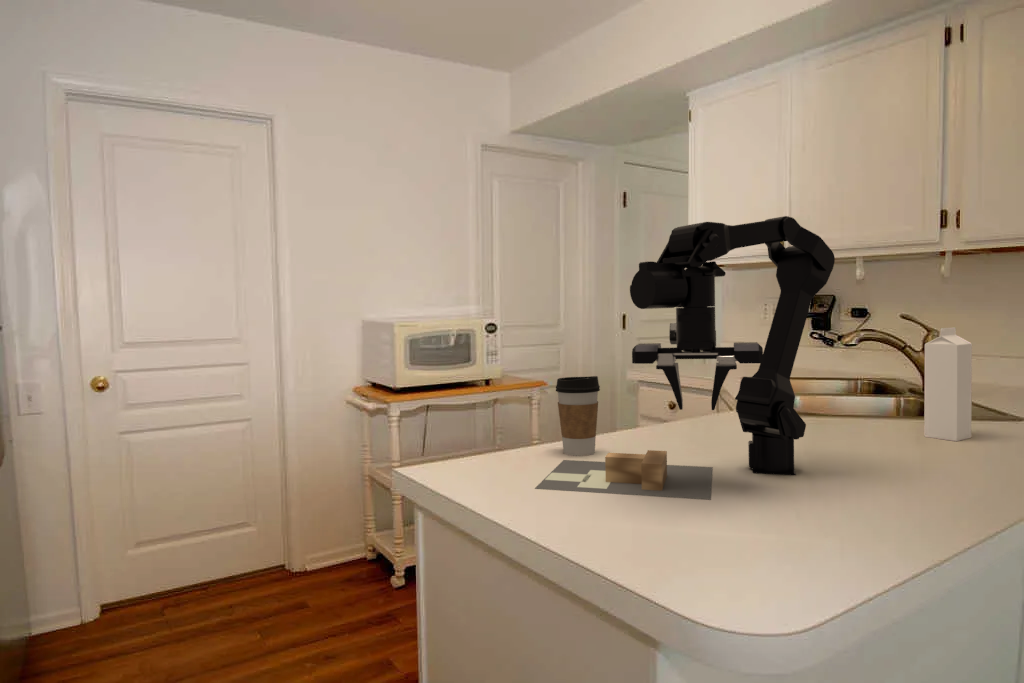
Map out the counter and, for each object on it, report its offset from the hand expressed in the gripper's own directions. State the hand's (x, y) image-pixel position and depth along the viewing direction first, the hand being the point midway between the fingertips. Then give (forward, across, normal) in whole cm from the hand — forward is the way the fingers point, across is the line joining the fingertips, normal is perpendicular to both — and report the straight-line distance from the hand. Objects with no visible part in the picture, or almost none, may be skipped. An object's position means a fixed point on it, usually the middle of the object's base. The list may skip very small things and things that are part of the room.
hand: (696, 409), depth 98 cm
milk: (+12, -46, -47) cm, 67 cm away
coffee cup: (+12, +22, -18) cm, 31 cm away
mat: (+12, +11, -2) cm, 16 cm away
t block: (+12, +9, 0) cm, 15 cm away
